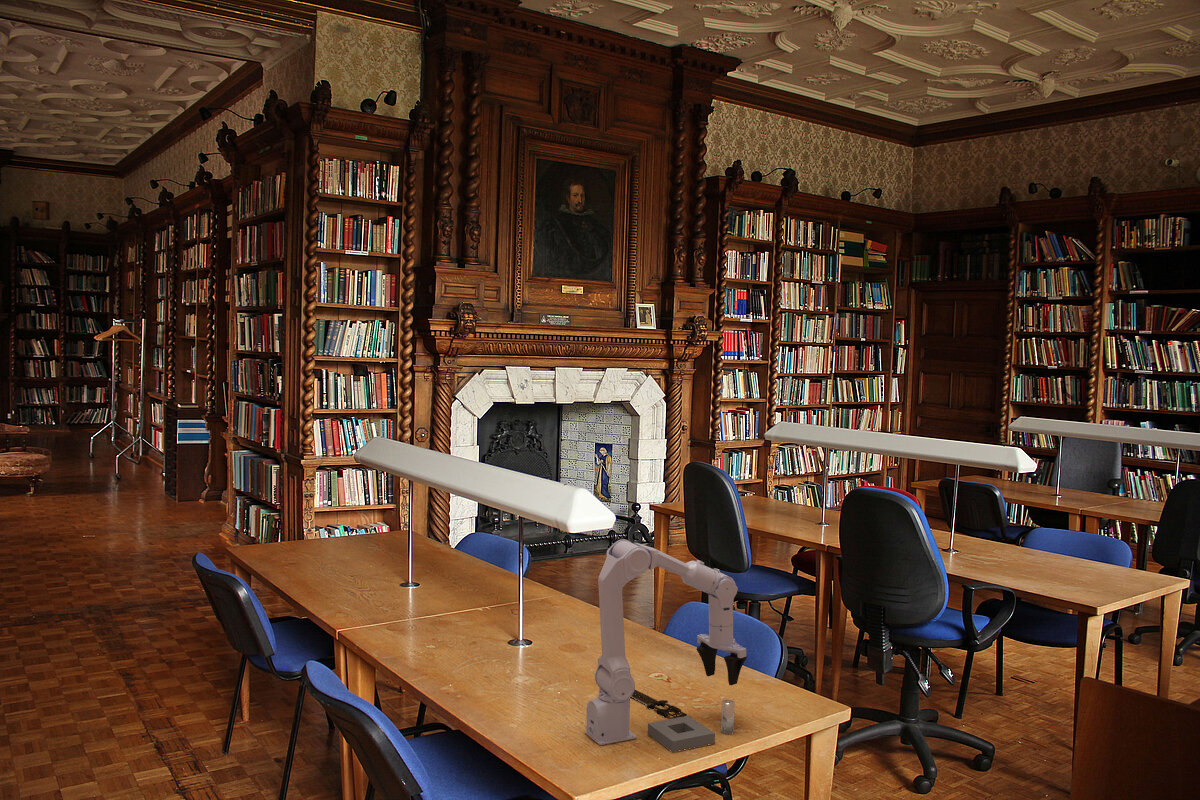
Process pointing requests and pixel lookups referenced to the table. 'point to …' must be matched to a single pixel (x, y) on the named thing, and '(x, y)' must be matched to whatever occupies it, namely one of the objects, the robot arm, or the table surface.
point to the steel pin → (727, 716)
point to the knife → (658, 703)
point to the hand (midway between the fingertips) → (721, 679)
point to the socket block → (681, 733)
